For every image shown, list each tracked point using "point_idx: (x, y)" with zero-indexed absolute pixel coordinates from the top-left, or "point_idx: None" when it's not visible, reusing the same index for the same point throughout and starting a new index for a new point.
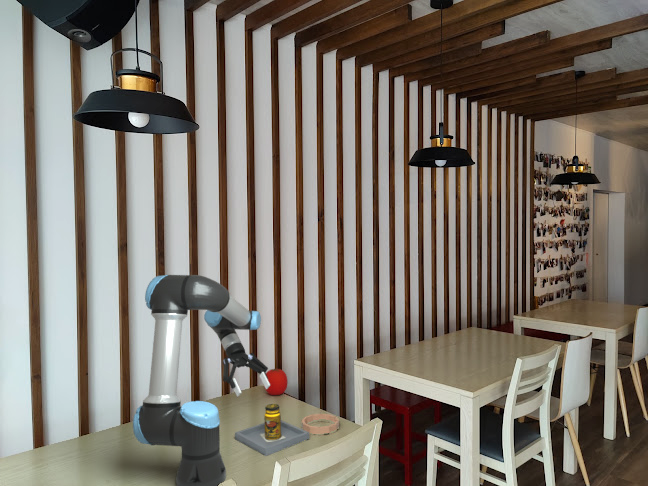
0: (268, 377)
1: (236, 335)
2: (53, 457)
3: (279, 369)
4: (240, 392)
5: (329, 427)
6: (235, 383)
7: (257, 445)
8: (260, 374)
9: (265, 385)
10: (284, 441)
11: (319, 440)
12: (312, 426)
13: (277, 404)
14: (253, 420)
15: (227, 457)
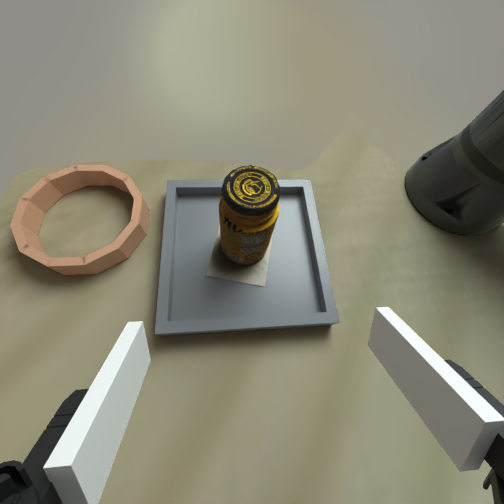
0: None
1: None
2: None
3: None
4: (383, 307)
5: (105, 166)
6: (448, 365)
7: (315, 209)
8: (86, 496)
9: (141, 368)
10: None
11: (159, 173)
12: (135, 193)
13: (224, 185)
14: (198, 449)
15: (382, 239)
